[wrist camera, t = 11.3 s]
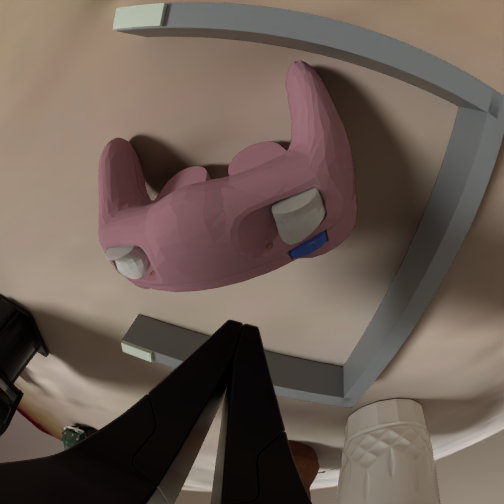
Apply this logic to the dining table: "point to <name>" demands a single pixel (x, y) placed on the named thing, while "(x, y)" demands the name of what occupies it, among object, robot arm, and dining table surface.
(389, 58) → the frame
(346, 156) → the video game controller
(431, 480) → the white cup
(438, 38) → the dining table surface
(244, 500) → the robot arm
